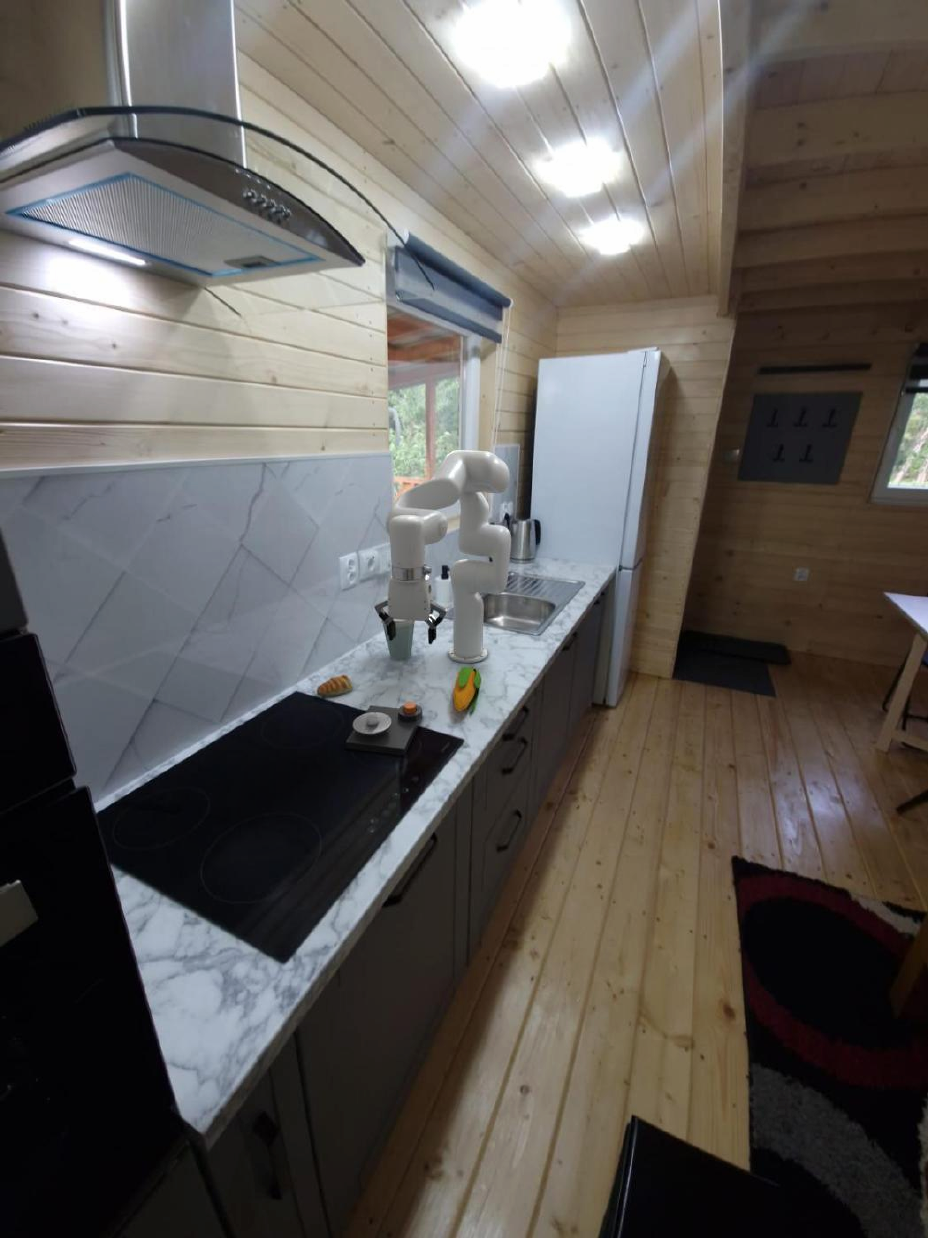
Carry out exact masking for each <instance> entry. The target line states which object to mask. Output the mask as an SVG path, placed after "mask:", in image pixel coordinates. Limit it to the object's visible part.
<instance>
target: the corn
mask: <svg viewBox="0 0 928 1238" xmlns="http://www.w3.org/2000/svg"><path fill="white" fill-rule="evenodd" d="M459 670H460V671H458V673H457V675H456V677H455V678H456V679H455V683H454V687H453V691H452V700H453V704H454V709H455V710H456V711H458V712H462V711H464V710H465V709H467V708H468V706H469V705H470V704H471V705H470V709H469V712H472V711H473V709H474V708H475V705H476V703H477V701H478V698H479V695H480V688H481V684H482V676H481V672H479V670H478V669H477V668H473V667H471V666H462V667H461V668H460V669H459Z"/></svg>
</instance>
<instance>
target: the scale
mask: <svg viewBox="0 0 928 1238" xmlns="http://www.w3.org/2000/svg"><path fill="white" fill-rule="evenodd" d="M415 704H416V712H415V713H412V714H406V713H405V712H404V704H403V705H401V706H399V707H392V706H391V707H390V706H381V705H371V704H370V705H369V707H368V708H367V709H366V711H365V713H364V714H366V713H371V712H379V713H384V714H386V715H388V716H389V717H390V719H391V726H390V728H389V729H388V730H387V731H385V732H384V733H381V734H378V735H374V736H365V735H361V734H358V733H357V732H355V731H354V729H353V730H352V731H351V733H350V735H348V738H347V739H346V741H345V748H346V749H348V750H349V749H350V750H355V751H356V750H357V751H364V752H373V753H380V754H388V755H396V756H402V757H403V756H406V753H407V751H408V749H409V747H410V745H411V743H412V740H413V739H414V736H415V735H416V732H417V730H418V728H419V726H420V724H421V722H422V720H423V718H424V717H423V716H424V715H423V708H422V706H421V705H419V704H417V703H415ZM375 710H376V711H375Z"/></svg>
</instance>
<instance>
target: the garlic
mask: <svg viewBox="0 0 928 1238" xmlns="http://www.w3.org/2000/svg"><path fill="white" fill-rule="evenodd" d="M375 711H376V710H375ZM378 722H379V716H378V715H377V714H376V712H374V713H370V714H368V716H367V717H366V723H367V724H368V725H376V724H377V723H378Z"/></svg>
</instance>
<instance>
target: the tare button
mask: <svg viewBox="0 0 928 1238" xmlns="http://www.w3.org/2000/svg"><path fill="white" fill-rule="evenodd" d="M416 704H417V703H416V702H413V701H407V702H405V703H404V704H403V705H404V712H405V713H406V714H412V713H415V712H416Z"/></svg>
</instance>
